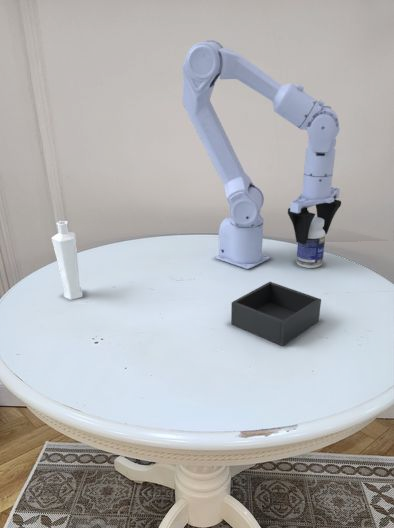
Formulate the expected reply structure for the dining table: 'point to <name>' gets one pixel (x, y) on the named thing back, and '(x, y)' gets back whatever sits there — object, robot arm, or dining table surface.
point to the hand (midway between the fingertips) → (311, 237)
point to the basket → (275, 312)
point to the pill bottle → (312, 246)
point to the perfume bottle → (67, 260)
